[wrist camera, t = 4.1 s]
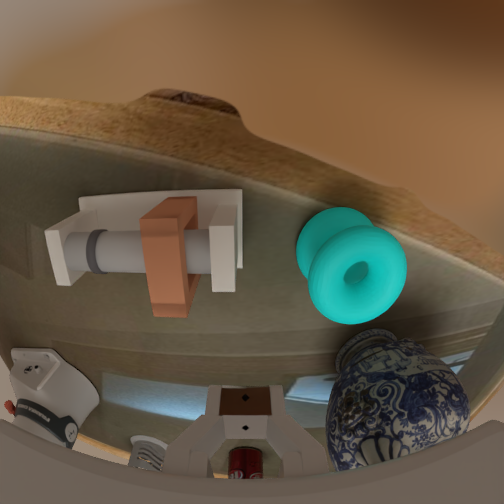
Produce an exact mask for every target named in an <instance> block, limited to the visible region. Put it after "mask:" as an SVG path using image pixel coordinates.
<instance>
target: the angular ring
mask: <svg viewBox="0 0 504 504" xmlns="http://www.w3.org/2000/svg"><path fill="white" fill-rule="evenodd" d="M139 223H140V232H141V240H142V248H143V255H144V262H145V269H146V275H147V282H148V288H149V293H150V299H151V304H152V310H153V315H154V316H156V317H176V318H187V317H188V314H189V310H190V307H191V304H192V301H193V298H194V295H195V292H196V288H197V285H198V282H199V279H200V276H201V274H187V266H186V255H185V243H184V230H194V229H198V212H197V196H182V197H168V198H166V199H165V200H163V201H162V202H161V203H159V204H158V205H157V206H156V207H154V208H153V209H152V210H150V211H149V212H148V213H146V214H145V215H144V216H143V217H141V218H140V219H139Z"/></svg>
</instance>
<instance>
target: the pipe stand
mask: <svg viewBox="0 0 504 504" xmlns="http://www.w3.org/2000/svg"><path fill="white" fill-rule="evenodd" d="M182 196H197V212H198V229H194V230H184V243H185V255H186V266H187V274H211V276H212V292H235V287H236V274H237V268H242V267H243V252H242V189H204V190H173V191H152V192H135V193H120V194H107V195H95V196H85V197H80V198H79V206H80V212H78V213H76V214H74V215H72V216H70V217H68V218H66V219H65V220H63V221H61V222H59V223H57V224H55V225H54V226H52V227H50V228H48V229H47V230H45V236H46V241H47V246H48V250H49V255H50V259H51V263H52V267H53V271H54V275H55V279H56V282H57V285H63V286H72V285H73V284H74V283H75V282H76V281H77V280H78V279H79V278H80V277H81V276H82V275H83V274H84V273H85V272H86V271H92V272H93V273H96V274H106V273H108V272H130V273H146V269H145V262H144V255H143V248H142V240H141V232H140V223H139V219H140V218H141V217H143V216H144V215H145V214H146V213H148V212H149V211H150V210H152V209H153V208H154V207H156V206H157V205H158V204H159V203H161V202H162V201H163V200H165V199H166V198H168V197H182Z"/></svg>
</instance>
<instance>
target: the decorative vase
mask: <svg viewBox="0 0 504 504" xmlns="http://www.w3.org/2000/svg"><path fill="white" fill-rule="evenodd" d="M335 367H336V370H337V372H338V373H339V375H338V377H337V379H336V381H335V383H334V385H333V388H332V391H331V394H330V398H329V403H328V408H327V415H326V441H327V447H328V451H329V455H330V458H331V461H332V463H333V466H334V468H335V470H336V471H337V472H338V471H344V470H349V469H354V468H359V467H364V466H368V465H372V464H377V463H381V462H384V461H388V460H392V459H395V458H399V457H402V456H405V455H409V454H412V453H415V452H418V451H421V450H424V449H426V448H429V447H432V446H435V445H437V444H440V443H442V442H445V441H447V440H450V439H452V438H454V437H457V436H459V435H461V434H464V433H466V431H467V429H468V425H469V421H470V403H469V399H468V396H467V393H466V390H465V388H464V386H463V385H462V383H461V381H460V380H459V378H458V377H457V376H456V374H455V373H454V372H453V371H452V370H451V369H450V367H448V366H447V365H446V364H445V363H444V362H443V361H442V360H441V359H439V358H438V357H436V356H435V355H433V354H431V353H430V352H428V351H426V349H425V347H424V346H423V345H422V344H417V343H416V342H415V341H414V340H412V339H411V338H410V337H408V338H407V337H406V338H403V339H401V340H398V341H397V338H396V337H395V335H394V334H393V333H391V332H390V331H388V330H385V329H379V328H377V329H369V330H365V331H363V332H361V333H359V334H357V335H355V336H353V337H352V338H350V339H349V340H348V341H347V342H346V343H345V344H344V345H343V346H342V347H341V349H340V350H339V352H338V354H337V356H336V360H335Z"/></svg>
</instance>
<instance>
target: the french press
mask: <svg viewBox="0 0 504 504" xmlns="http://www.w3.org/2000/svg"><path fill="white" fill-rule="evenodd" d="M131 443H132V444H133V449H132V452H131V456H130V459H129V463H128V466H131V467H136V468H138V467H140V468H144V469H147V470H151V471H157V472H162V470H160V469H162V468H163V463H164V458H165V453H166V449H167V446H168V445H167V444H165V443H164V442H162V441H160V440H158V439H155V438H152V437H148V436H142V435H137V436H133V437H132V438H131ZM163 456H164V458H163ZM139 457H141V458H142V459H144V460H142V459H139ZM145 460H149V461H150V462H147V461H145ZM153 460H154V461H153ZM162 460H163V462H162ZM152 464H153V465H152ZM161 464H162V467H161Z"/></svg>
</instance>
